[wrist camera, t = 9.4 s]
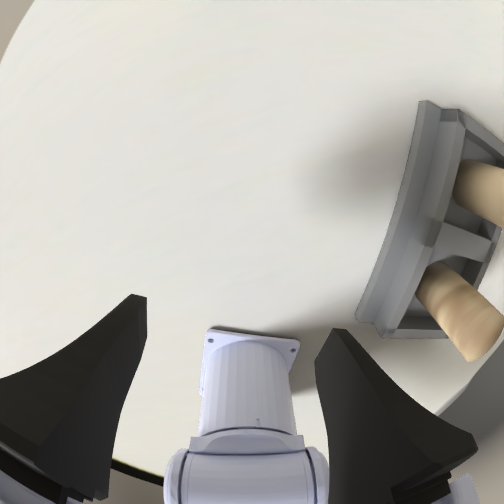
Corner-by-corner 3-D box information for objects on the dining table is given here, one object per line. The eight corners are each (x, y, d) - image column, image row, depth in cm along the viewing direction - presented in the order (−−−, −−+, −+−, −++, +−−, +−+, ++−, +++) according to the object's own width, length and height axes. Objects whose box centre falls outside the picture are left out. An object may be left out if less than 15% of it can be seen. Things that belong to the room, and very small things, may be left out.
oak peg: (437, 303, 21) (484, 359, 13) (407, 300, 20) (455, 364, 13) (455, 264, 19) (511, 314, 12) (426, 258, 19) (487, 314, 11)
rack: (445, 320, 23) (488, 377, 15) (354, 314, 22) (394, 396, 14) (504, 157, 16) (573, 181, 8) (419, 101, 15) (510, 99, 6)
